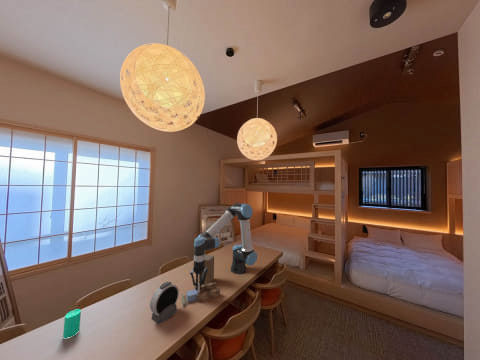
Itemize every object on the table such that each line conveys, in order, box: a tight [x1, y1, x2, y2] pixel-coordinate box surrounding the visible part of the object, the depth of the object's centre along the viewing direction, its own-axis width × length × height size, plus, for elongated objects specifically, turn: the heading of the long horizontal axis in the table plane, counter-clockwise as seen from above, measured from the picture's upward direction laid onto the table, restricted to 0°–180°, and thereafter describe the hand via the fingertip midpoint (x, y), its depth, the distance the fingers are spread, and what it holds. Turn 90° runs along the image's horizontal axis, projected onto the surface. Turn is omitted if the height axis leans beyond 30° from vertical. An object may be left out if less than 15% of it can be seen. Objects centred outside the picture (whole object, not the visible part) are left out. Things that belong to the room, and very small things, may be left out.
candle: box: [62, 308, 82, 338], centre depth 84 cm, size 6×6×12 cm
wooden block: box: [202, 254, 215, 285], centre depth 134 cm, size 10×10×20 cm
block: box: [185, 289, 198, 302], centre depth 112 cm, size 7×6×4 cm
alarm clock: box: [149, 281, 180, 325], centre depth 98 cm, size 16×10×18 cm, turn 148°
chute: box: [180, 281, 221, 308], centre depth 115 cm, size 25×11×5 cm, turn 116°
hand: (198, 294), depth 114 cm, fingers closed
